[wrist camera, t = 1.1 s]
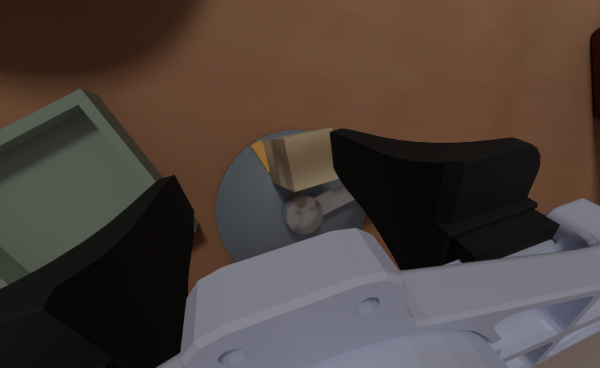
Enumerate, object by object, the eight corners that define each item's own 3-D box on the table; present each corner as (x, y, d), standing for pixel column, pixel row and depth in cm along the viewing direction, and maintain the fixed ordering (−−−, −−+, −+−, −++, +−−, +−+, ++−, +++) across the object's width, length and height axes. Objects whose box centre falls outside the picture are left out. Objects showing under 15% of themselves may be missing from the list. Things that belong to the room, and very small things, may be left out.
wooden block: (309, 171, 26) (340, 177, 20) (272, 182, 24) (295, 191, 19) (301, 132, 25) (332, 127, 19) (262, 140, 23) (283, 138, 18)
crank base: (385, 222, 30) (390, 225, 29) (273, 308, 27) (274, 313, 27) (321, 99, 25) (324, 98, 25) (179, 188, 23) (177, 190, 22)
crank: (289, 233, 26) (306, 255, 21) (276, 202, 25) (290, 217, 20) (375, 190, 28) (409, 201, 23) (365, 160, 27) (399, 164, 22)
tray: (198, 222, 24) (195, 230, 21) (64, 310, 22) (44, 330, 19) (97, 94, 20) (80, 88, 18) (-78, 186, 18) (-123, 192, 15)
